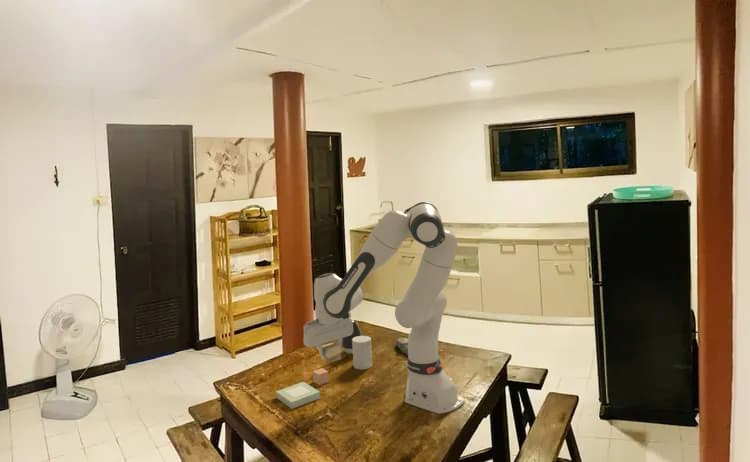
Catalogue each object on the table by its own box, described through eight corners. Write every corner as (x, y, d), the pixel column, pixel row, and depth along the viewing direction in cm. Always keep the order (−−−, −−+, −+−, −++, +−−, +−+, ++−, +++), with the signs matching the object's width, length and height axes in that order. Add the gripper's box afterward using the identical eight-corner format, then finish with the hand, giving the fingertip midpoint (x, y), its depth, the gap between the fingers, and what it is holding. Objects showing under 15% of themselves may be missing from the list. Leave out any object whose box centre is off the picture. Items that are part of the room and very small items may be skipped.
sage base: (320, 398, 181) (319, 391, 181) (291, 408, 174) (291, 402, 174) (303, 387, 191) (303, 381, 190) (276, 397, 183) (275, 391, 183)
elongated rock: (423, 375, 201) (444, 372, 205) (423, 363, 200) (444, 360, 204) (390, 344, 233) (408, 341, 237) (390, 333, 233) (409, 331, 236)
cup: (371, 369, 206) (370, 342, 204) (352, 369, 206) (351, 342, 205) (372, 361, 214) (371, 335, 212) (354, 362, 214) (352, 336, 213)
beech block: (341, 358, 181) (340, 346, 180) (329, 363, 178) (328, 350, 177) (333, 355, 185) (332, 342, 185) (321, 359, 182) (320, 346, 181)
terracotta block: (328, 382, 195) (328, 371, 195) (319, 385, 193) (318, 374, 192) (322, 378, 199) (322, 368, 198) (313, 381, 196) (312, 371, 195)
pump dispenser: (337, 351, 228) (336, 319, 226) (357, 346, 233) (355, 316, 231) (346, 358, 219) (345, 325, 217) (367, 353, 224) (365, 321, 222)
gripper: (307, 324, 171) (310, 362, 173) (354, 312, 184) (356, 347, 185) (298, 321, 176) (301, 357, 178) (344, 309, 189) (346, 343, 190)
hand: (329, 352), depth 182 cm, fingers closed on beech block, 5 cm apart
